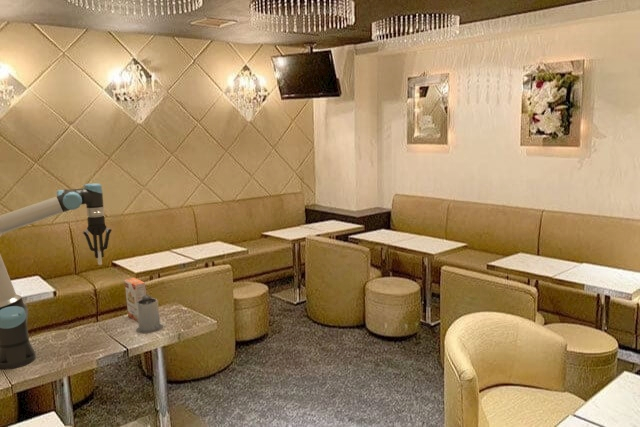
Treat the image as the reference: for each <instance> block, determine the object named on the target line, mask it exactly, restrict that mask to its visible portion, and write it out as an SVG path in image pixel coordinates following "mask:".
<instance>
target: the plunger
mask: <svg viewBox="0 0 640 427" xmlns="http://www.w3.org/2000/svg"><path fill="white" fill-rule="evenodd" d="M151 298H152V296H151V294H146V295H145V296H143V297H142V299H143V301H145V302H146V304H148V301H150V300H151Z"/></svg>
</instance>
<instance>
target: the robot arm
mask: <svg viewBox="0 0 640 427" xmlns="http://www.w3.org/2000/svg"><path fill="white" fill-rule="evenodd" d="M102 188H103V186H102V184H101V183H97V182H96V183H95V182H93V183H85V184H84V187H83V188H71V189H70V188H68V189H58V190H57V191H56V196H54V197H50V198H47V199H45V200H43V201H39V202H36V203H34V204H30V205H27V206H24V207H21V208H19V209H15V210H13V211H10V212H7V213H3V214H1V215H0V238H1V237H2V235H4V234H5V233H9V232H12V231H15V230H17V229H20V228H23V227H25V226H28V225H31V224H35V223H37V222H40V221H43V220H46V219H48V218H51V217H54V216H57V215H59V214H63V213H65V212H69V211H74V210H77V209H79V208H80V207H81V205H84V206H86V216H87V218H86V219H87V228H86V230H83V231H82V234H83V236H84V237H85V240H86V242H87V245H88V248H89V250H90V251H92V252H94V257H95V259H97V264H98V265H99V266H102V265H103V260H102V258H104V257H105V255H104V253H105V252H104V251H105V250H107V249H108V247H109V240H110V236H111V235H110V234H111V233H112V228H108V227H107V225H106V220H105V218H106V217H105V216H104V215H105V209H104V207H105V206H104V197H103V196H104V195H103V189H102ZM89 233H90V234H91V235H92V239H93V240H92V242H93V243H92V242H91V239H90V236H89V235H90V234H89ZM104 233H105V236H104V238H103V234H104ZM103 239H104V242H103ZM98 244H99V249H98ZM28 317H29V309H28V306H26V304H25V303H24V301H23V298H22V296H21V295H19V294H17V293H16V290H15V288H14V285H13V283H12V281H11V277H10V276H9V273H8V270H7V267H6V265H5V262H4V260H3V257H2V254H1V253H0V369H1V370H9V369H16V368H19V367H23V366H26V365H29V364H30V363H33V361H35V360H36V358H37V355H36V351H35V349H34V348H33V345H32V344H31V342H30V338H29V329H28Z"/></svg>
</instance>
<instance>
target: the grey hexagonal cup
mask: <svg viewBox="0 0 640 427" xmlns="http://www.w3.org/2000/svg"><path fill="white" fill-rule="evenodd" d="M136 305H137V316H138V321H137V324H138V327H139V331H140V332H152V331H156V330H158V329H159V328H160V324H161V320H160V311H159V300H158V299H157V298H156V297H155V298H153V297H151V300H150V301H148V304H146V302H145V301H143V299H142V300H139V301H137V303H136Z"/></svg>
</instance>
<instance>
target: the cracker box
mask: <svg viewBox="0 0 640 427" xmlns="http://www.w3.org/2000/svg"><path fill="white" fill-rule="evenodd" d="M146 286H147V285H146V282H144V281H142V280H140V279H138V278H136V277H131V278H127V279H124V289H125V297H126V298H125V299H126V308H127V316H128V317H129V319H133V320H135V321H136V322H138V316H137V305H136V303H137V301H139V300H142V297H143V296H145V295H147V288H146Z"/></svg>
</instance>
